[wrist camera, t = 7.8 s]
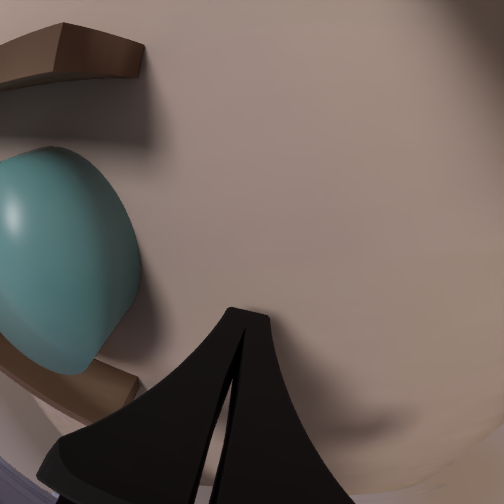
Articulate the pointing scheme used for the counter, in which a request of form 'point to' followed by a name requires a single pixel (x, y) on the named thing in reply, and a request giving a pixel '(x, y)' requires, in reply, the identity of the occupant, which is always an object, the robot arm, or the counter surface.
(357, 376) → the counter surface
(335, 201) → the counter surface
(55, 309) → the teal flat rounded lump
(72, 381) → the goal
